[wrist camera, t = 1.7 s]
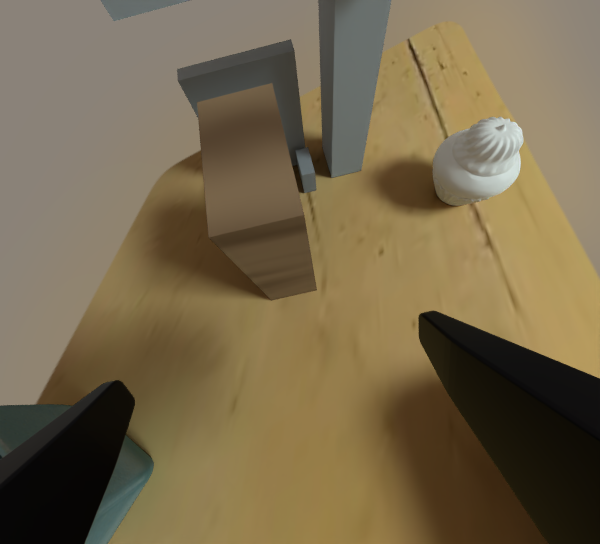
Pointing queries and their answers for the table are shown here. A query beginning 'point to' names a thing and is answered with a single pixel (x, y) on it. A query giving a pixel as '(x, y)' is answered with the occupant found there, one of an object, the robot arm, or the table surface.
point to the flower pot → (125, 479)
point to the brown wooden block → (254, 191)
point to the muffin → (478, 162)
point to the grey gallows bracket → (283, 75)
